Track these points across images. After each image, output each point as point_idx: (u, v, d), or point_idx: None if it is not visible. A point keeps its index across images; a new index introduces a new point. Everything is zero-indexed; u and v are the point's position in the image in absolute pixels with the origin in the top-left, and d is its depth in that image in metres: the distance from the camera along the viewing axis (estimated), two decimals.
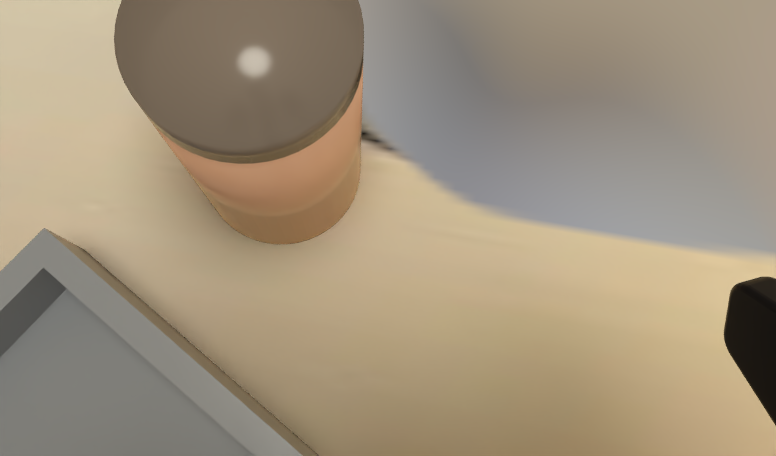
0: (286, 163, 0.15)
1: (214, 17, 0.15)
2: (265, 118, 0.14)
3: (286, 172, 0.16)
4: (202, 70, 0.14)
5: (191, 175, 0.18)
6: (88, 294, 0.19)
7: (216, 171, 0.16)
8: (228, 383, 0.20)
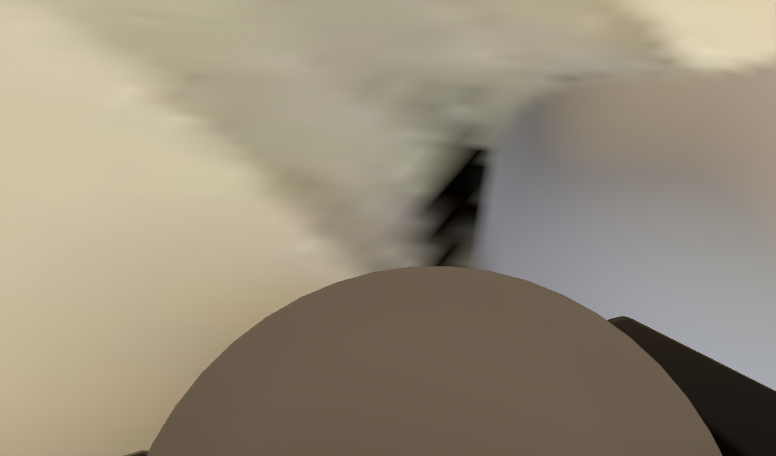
0: None
1: None
2: None
3: None
4: None
5: None
6: None
7: None
8: None
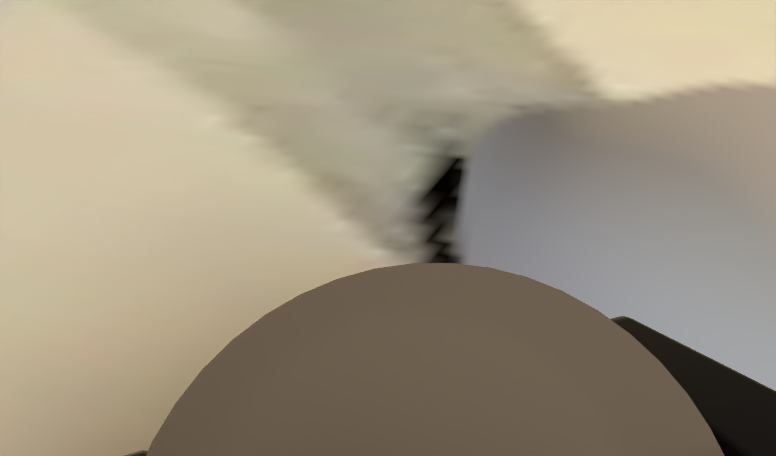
0: None
1: None
2: None
3: None
4: None
5: None
6: None
7: None
8: None
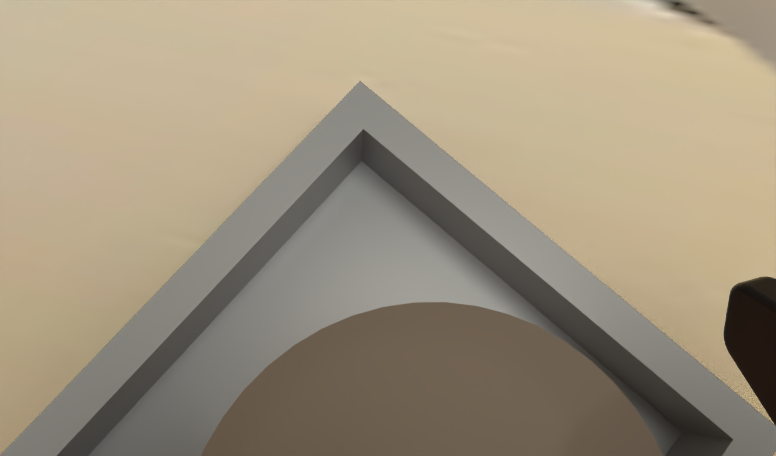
0: None
1: None
2: None
3: None
4: None
5: None
6: (422, 163, 0.15)
7: None
8: None
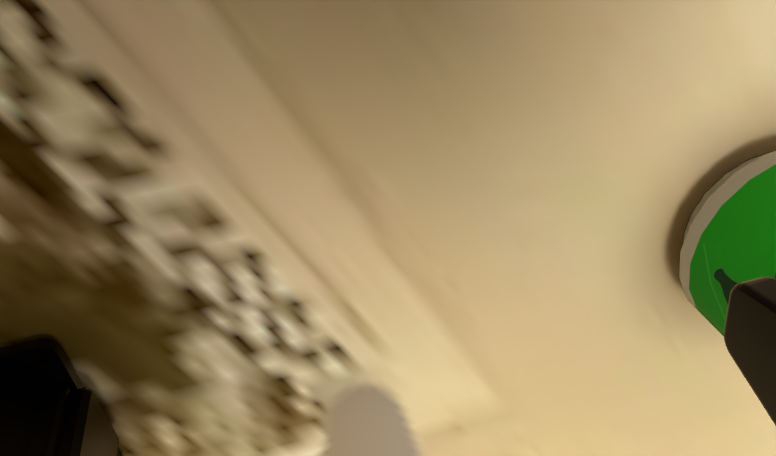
0: None
1: None
2: None
3: None
4: None
5: None
6: None
7: None
8: None
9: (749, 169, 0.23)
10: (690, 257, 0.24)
